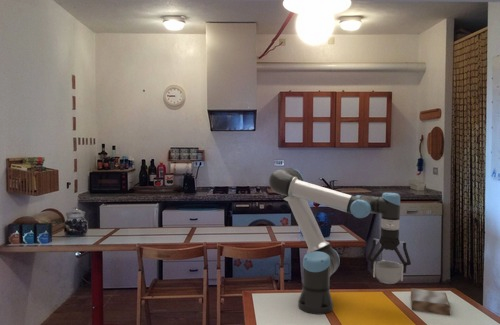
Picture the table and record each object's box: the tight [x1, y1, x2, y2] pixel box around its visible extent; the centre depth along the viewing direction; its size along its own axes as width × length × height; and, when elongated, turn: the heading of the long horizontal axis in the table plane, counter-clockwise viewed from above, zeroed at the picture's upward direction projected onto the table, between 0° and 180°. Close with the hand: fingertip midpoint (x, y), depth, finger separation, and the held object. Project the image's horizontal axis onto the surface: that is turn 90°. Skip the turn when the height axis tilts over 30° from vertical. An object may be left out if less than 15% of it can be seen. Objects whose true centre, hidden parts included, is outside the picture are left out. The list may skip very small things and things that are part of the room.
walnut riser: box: [410, 288, 451, 316], centre depth 185 cm, size 15×17×4 cm
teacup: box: [375, 259, 402, 285], centre depth 180 cm, size 14×11×8 cm
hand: (387, 278), depth 180 cm, fingers closed on teacup, 11 cm apart
